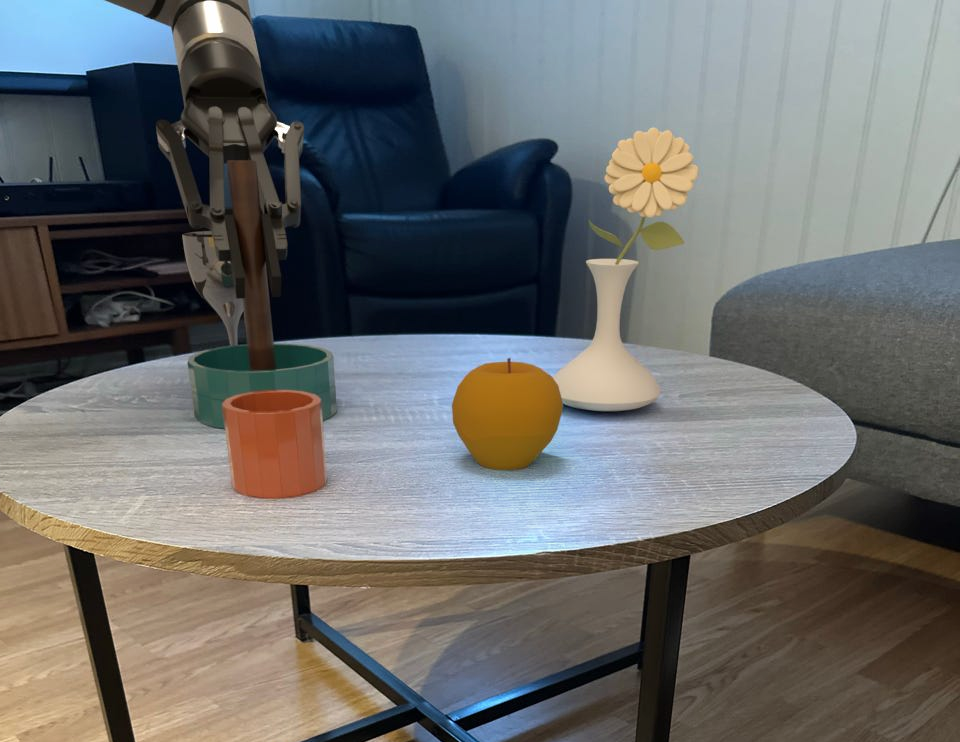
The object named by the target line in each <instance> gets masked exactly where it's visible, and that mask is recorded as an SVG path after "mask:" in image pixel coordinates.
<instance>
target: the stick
mask: <svg viewBox="0 0 960 742" xmlns="http://www.w3.org/2000/svg"><path fill="white" fill-rule="evenodd" d="M226 164H227V172H228V173H227V174H228V183H229V190H230V200H231V207H232V208H231V209H232V215H234V219H235V225H236V230H237V236H238V242H239V248H240V254H241V260H242V265H243V271H244V277H245V298H242V301H243V310H244V311H243V319H244V328H245V336H246V337H245V338H246V344H247V347H248V356H249V365H250V371H256V370H276V362H275V352H274V343H275V342H274V333H273V331H274V330H273V322H272V313H271V303H270V301H271V300H270V292H269V291H270V290H269V283H268V282H269V279H268V272H267V266H266V260H265V250H264V240H263V229H262V219H261V214H262V209H261V206H260V197H259V187H258V177H257V166H256V161H255V160H228V161H227V163H226Z"/></svg>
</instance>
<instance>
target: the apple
mask: <svg viewBox="0 0 960 742" xmlns="http://www.w3.org/2000/svg"><path fill="white" fill-rule="evenodd" d="M506 360H507V361H496V362H495V361H494V362H485V363H483V364H481V365H478V366H477V367H475V368H473V369H471V370H470V371H469V372H468V373H467V374H466V375H465V376H464V377H463V378H462V380H461V381H460V383H459V384H458V386H457V388H456V390H455V394H454V396H453V399H452V403H451V412H452V413H451V415H452V424H453V426H454V428H455V431H456V433H457V436H458V437H459V439H460V440H461V442H462V443H463V445H464V446H465V447H466V449H467V451H468V452H469V454H470V455H471V457H473V459H474V460H475V461H476V462H477V464H478V465H479V466H481V467H483V468H485V469H490V470H496V471H515V470H523V469H526V468H528V467H529V466H531V464H532V463H533V462H534V461H535V460H536V459H537V458H538V457H539V456H540V454H541V453H542V452H543V451H544V450H545V449H546V448H547V447H548V445H549V444H550V443H551V442H552V440H553V439H554V437H555V435H556V433H557V431H558V429H559V426H560V421H561V418H562V414H563V411H564V408H563V405H564V404H563V403H562V398H561V394H560V390H559V386H558V384H557V383H556V382H555V380H554V379H553V376H552V375H551V374H549V373H548V372H546V371H545V370H544V369H542V368H541V367H539V366H537V365H534V364H531V363H528V362H522V361H511V357H507V359H506Z"/></svg>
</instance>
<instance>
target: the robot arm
mask: <svg viewBox="0 0 960 742" xmlns="http://www.w3.org/2000/svg"><path fill="white" fill-rule="evenodd" d="M104 1H105V2H107V3H110V4H113V5H115V6H118V7H120V8H123V9H126V10H127V11H130V12H133V13H136V14H138V15H141V16H143V17H144V18H146V19H149V20H153V21H155V22H157V23H160V24H162V25H165V26H168V27H170V28H171V29H170V30H171V33H172V39H173V44H174V50H175V56H176V57H175V58H176V63H177V64H176V65H177V68H178V69H177V70H178V73H179V81H180V82H179V83H180V87H181V95H182V100H183V101H182V102H183V106H184V107H183V108H184V109H183V110H182V112H181V115H180V120H178V121H175V122H172V123H170V122H169V121H168V120H166V119H158V120H157V121H156V123H155V129H156V135H157V143H158V148H159V150H160V151H161V153H162V154H163V155H164V157H165V158H166V159H167V160H168V161H169V163H170V166H171V169H172V171H173V175H174V177H175V181H176V185H177V187H178V191H179V194H180V198H181V200H182V204H183V207H184V210H185V214H186V216H187V217H186V218H187V220H188V223H189V225H190V227H191V228H192V229H194V230H201V229H202V228H205V229H208V231H211V232H212V237H213V239H214V246H215V252H216V257H217V258H218V260H219V261H230V264H231V270H232V276H233V281H234V287H235V293H236V299H239V298H245V277H244V271H243V265H242V260H241V254H240V248H239V242H238V236H237V230H236V225H235V219H234V215H233V214H226V188H225V186H226V185H225V183H226V182H225V181H226V179H225V173H226V172H225V164H227V161H228V160H255V161H256V166H257V177H258V187H259V197H260V208H261V219H262V229H263V240H264V250H265V260H266V270H267V278H268V282H269V283H268V284H269V289H270V293H271V297H272V298H281V296H282V271H281V267H280V261H286V260H287V257H288V245H289V243H288V239H287V234H286V233H287V232H286V228H287V227H290V228H293V229H294V228H298V227H299V226H300V225H301V213H302V191H301V174H300V173H301V171H300V158H301V155H302V152H303V149H304V136H305V126H304V124H303V122H300V121H299V120H295V121H293V122H291V124H290V125H288V124H285V123H283V122H280V121H278V119H277V116H276V114H275V113H274V111H273V110H272V109H271V108H270V106H269V103H268V98H267V92H266V88H265V87H266V86H265V82H264V77H263V72H262V69H261V68H262V66H261V61H260V60H261V59H260V55H259V50H258V47H257V46H258V45H257V42H256V37H255V33H254V32H255V31H254V26H253V21H252V14H251V9H250V8H251V7H250V3H249V0H104ZM186 138H188V139H189V141H191V142H192V143H193V144H194V145H195V146H196V147H197V148H198V149H199V150H201V151H202V153H204V154H205V155H206V156H207V157H208V158H209V161H208V162H209V205H208V204H204V203H203V202H202V199H201V196H200V192H199V190H198V186H197V183H196V180H195V177H194V174H193V173H194V172H193V170H192V167H191V163H190V161H189V157H188V154H187V151H186V147H187V142H186V141H187V140H186ZM274 138H275V139H276V140H277V141H278V148H279V149H281V153H282V154H283V155H284V160H283V163H284V164H283V165H284V166H283V170H284V189H285V190H284V191H285V193H284V194H285V203H283V202H282V201H280V199H279V196H278V194H277V190H276V187H275V183H274V181H273V179H272V176H271V173H270V169H269V167H268V164H267V161H266V158H265V155H264V153H265V151H266V149H267V148H268V146H269V145H270V144H271V142H272V141H273V140H274Z"/></svg>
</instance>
